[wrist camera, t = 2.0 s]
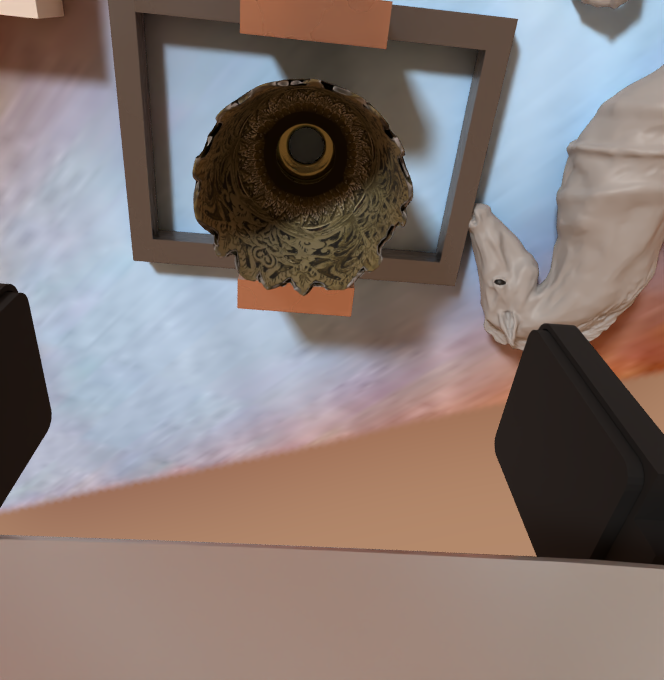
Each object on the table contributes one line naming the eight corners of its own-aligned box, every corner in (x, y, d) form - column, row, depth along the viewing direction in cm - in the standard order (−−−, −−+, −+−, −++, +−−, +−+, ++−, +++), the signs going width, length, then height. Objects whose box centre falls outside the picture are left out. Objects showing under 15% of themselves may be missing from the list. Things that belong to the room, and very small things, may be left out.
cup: (329, 250, 28) (333, 330, 22) (197, 170, 26) (155, 233, 19) (419, 120, 25) (456, 166, 18) (278, 17, 23) (261, 27, 16)
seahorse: (471, -137, 20) (455, 367, 28) (882, -217, 16) (727, 393, 24) (485, -97, 24) (467, 328, 32) (809, -152, 20) (698, 345, 28)
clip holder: (509, 15, 23) (553, 20, 19) (449, 277, 29) (471, 325, 25) (114, -30, 22) (65, -36, 18) (140, 252, 28) (109, 298, 24)
